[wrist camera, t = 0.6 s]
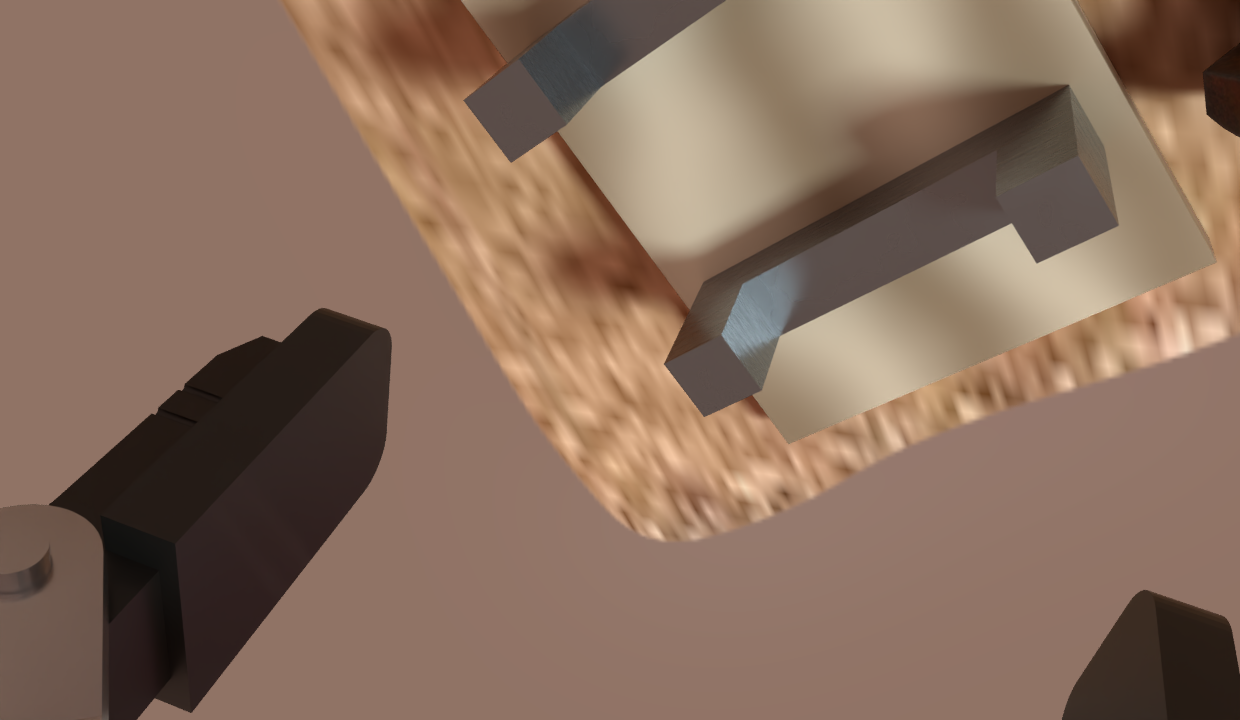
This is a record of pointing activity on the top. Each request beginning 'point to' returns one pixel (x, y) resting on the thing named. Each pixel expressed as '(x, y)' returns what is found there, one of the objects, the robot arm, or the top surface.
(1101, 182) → the grey notched cradle
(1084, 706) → the robot arm
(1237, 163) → the top surface
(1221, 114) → the bolt
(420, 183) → the top surface
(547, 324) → the top surface
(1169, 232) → the collar board
